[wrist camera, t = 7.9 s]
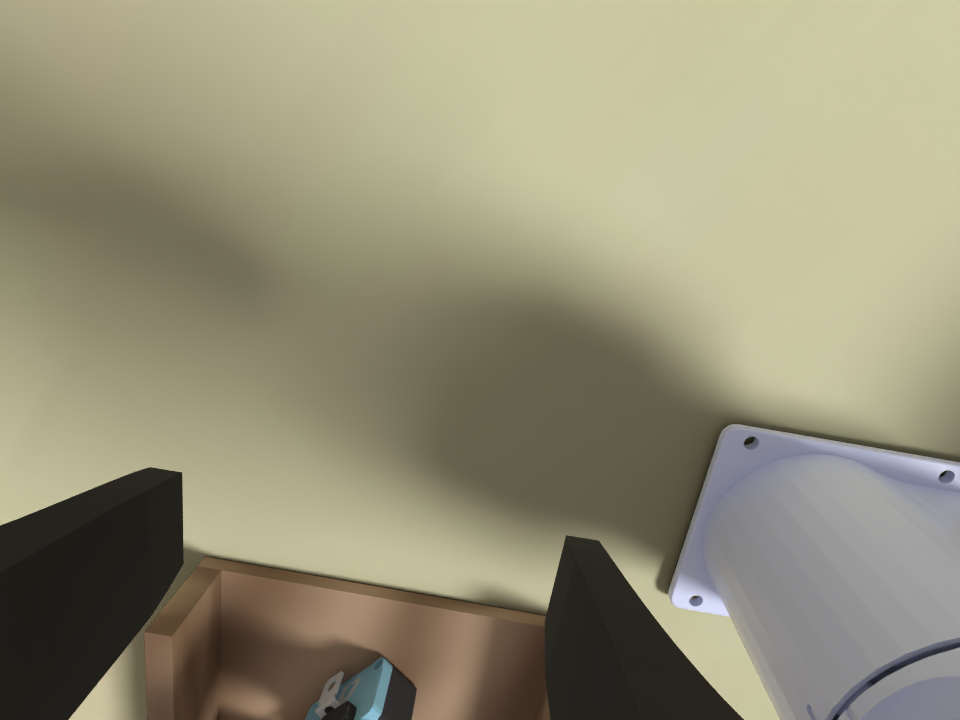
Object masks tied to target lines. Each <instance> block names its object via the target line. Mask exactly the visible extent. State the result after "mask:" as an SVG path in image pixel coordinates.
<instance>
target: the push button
mask: <svg viewBox="0 0 960 720" xmlns="http://www.w3.org/2000/svg"><path fill="white" fill-rule="evenodd" d="M343 675H344V673H343V672H342V671H340V672H339V673H337V674H336V675H334V676H333V677H331V678H330V679H329V680H328V681H327V682H326V684H325V686H324V688H323V691H322V694H321V697H320V699H319V700H318V701H317V702H315V703H314V704H313V705H312V706H311V708H310V709H309V711H308V713H307V716H306V718H305V720H412V715H413V709H414V704H415V698H416V692H417V688H416V687H415V686H414V685H413V684H412V683H411V682H410V681H408V680H407V679H406V678H405V677H404V676H403V675H402V674H401V673H400V672H399V671H398V670H397V669H396V668H394V667H393V666H392V665H391V664H390V663H389V662H388V661H387V660H386V659H385V658H383V657H382V658H379V659H378V660H376V661H375V662H374V663H373V664H372V665H370V666H369V667H367V668H366V669H364V670H363V671H361V672H360V673H358V674H357V675H355V676H354V677H352V678H351V679H349V680H348V681H346V682H345V683H343V684H342V685H340V684H341V681H342V678H343ZM335 681H336V683H335V685H334V687H333V688H332V689H331V690H330V691H328V689H329V687H330V686H331V684H332V683H333V682H335Z"/></svg>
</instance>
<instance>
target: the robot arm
mask: <svg viewBox="0 0 960 720" xmlns="http://www.w3.org/2000/svg"><path fill="white" fill-rule="evenodd" d="M749 437H755V438H754V441H753V442H752V443H751V444H749V445H744V441H745V440H746V439H747V438H749ZM944 471H946V473H945V475H944V476H942V477H940V478H939V476H940V474H941V473H942V472H944ZM182 565H183V496H182V473H181V472H175V471H169V470H163V469H157V468H151V467H149V468H146V469H143V470H140V471H137V472H134V473H131V474H128V475H126V476H123V477H121V478H118V479H116V480H113V481H110V482H108V483H105V484H103V485H101V486H98V487H96V488H93V489H91V490H88V491H86V492H83V493H81V494H79V495H76V496H74V497H71V498H69V499H66V500H64V501H61V502H59V503H56V504H54V505H51V506H49V507H47V508H44V509H42V510H39V511H37V512H34V513H32V514H29V515H27V516H24V517H22V518H19V519H17V520H14V521H11V522H9V523H6V524H3V525H1V526H0V720H68V719H69V718H70V717H71V716H72V714H73V713H74V712H75V711H76V709H77V708H78V707H79V706H80V704H81V703H82V702H83V701H84V700H85V698H86V697H87V696H88V695H89V693H90V692H91V691H92V690H93V688H94V687H95V686H96V685H97V683H98V682H99V681H100V680H101V678H102V677H103V676H104V675H105V673H106V672H107V671H108V670H109V668H110V667H111V666H112V665H113V664H114V662H115V661H116V660H117V659H118V657H119V656H120V655H121V654H122V652H123V651H124V650H125V649H126V647H127V646H128V645H129V643H130V642H131V641H132V640H133V638H134V637H135V636H136V635H137V633H138V632H139V631H140V630H141V628H142V627H143V626H144V624H145V623H146V622H147V621H148V619H149V618H150V617H151V615H152V614H153V612H154V611H155V609H156V608H157V606H158V605H159V603H160V602H161V600H162V598H163V597H164V595H165V594H166V592H167V591H168V589H169V587H170V585H171V584H172V582H173V580H174V579H175V577H176V575H177V574H178V572H179V570H180V569H181V567H182ZM668 595H669V598H670V600H671V603H672V604H673V605H674V606H675V607H678V608H682V609H688V610H694V611H700V612H705V613H711V614H717V615H723V616H728V617H730V618H731V620H732V622H733V624H734V626H735V628H736V630H737V632H738V634H739V636H740V638H741V640H742V642H743V644H744V646H745V648H746V650H747V652H748V654H749V656H750V658H751V661H752V663H753V665H754V667H755V669H756V671H757V673H758V675H759V677H760V679H761V681H762V683H763V685H764V687H765V689H766V691H767V693H768V695H769V697H770V699H771V701H772V703H773V705H774V707H775V710H776V712H777V714H778V716H779V718H780V720H960V462H955V461H949V460H944V459H938V458H932V457H926V456H920V455H914V454H909V453H903V452H897V451H891V450H885V449H880V448H874V447H868V446H862V445H856V444H851V443H845V442H839V441H833V440H827V439H821V438H816V437H810V436H804V435H798V434H792V433H787V432H781V431H775V430H769V429H763V428H757V427H752V426H746V425H740V424H732V425H729V426H727V427H725V428H724V429H723V430H722V432H721V434H720V436H719V439H718V442H717V445H716V448H715V451H714V454H713V458H712V461H711V464H710V467H709V470H708V473H707V476H706V479H705V482H704V485H703V488H702V491H701V494H700V497H699V500H698V503H697V506H696V509H695V512H694V515H693V518H692V521H691V524H690V527H689V530H688V533H687V536H686V539H685V542H684V545H683V548H682V552H681V555H680V558H679V561H678V564H677V567H676V570H675V573H674V576H673V579H672V582H671V585H670V588H669V592H668ZM693 596H699V597H698V598H696V599H690V598H691V597H693ZM545 679H546V688H547V696H548V704H549V712H550V720H744V719H743V718H742V717H741V716H740V715H739V714H738V713H737V712H736V711H735V710H734V709H733V708H732V707H731V706H730V705H729V704H728V703H727V702H726V701H725V700H724V699H723V698H722V697H721V696H720V695H719V694H718V692H717V691H716V690H715V689H714V688H713V687H712V686H711V685H710V684H709V683H708V682H707V680H706V679H705V678H704V677H703V676H702V675H701V674H700V672H699V671H698V670H697V669H696V668H695V667H694V665H693V664H692V663H691V662H690V661H689V660H688V658H687V657H686V656H685V655H684V654H683V653H682V651H681V650H680V649H679V648H678V647H677V645H676V644H675V643H674V642H673V641H672V639H671V638H670V637H669V636H668V634H667V633H666V632H665V631H664V629H663V628H662V627H661V626H660V624H659V623H658V622H657V620H656V619H655V618H654V616H653V615H652V614H651V613H650V611H649V610H648V609H647V607H646V606H645V605H644V603H643V602H642V601H641V599H640V598H639V597H638V595H637V594H636V592H635V591H634V590H633V588H632V587H631V586H630V584H629V583H628V581H627V580H626V579H625V577H624V576H623V574H622V573H621V571H620V570H619V569H618V567H617V566H616V564H615V563H614V562H613V560H612V559H611V557H610V556H609V554H608V553H607V552H606V550H605V549H604V547H603V546H602V545H601V543H600V542H599V541H597V540H591V539H585V538H579V537H573V536H567V535H566V538H565V542H564V546H563V550H562V554H561V558H560V562H559V566H558V570H557V575H556V579H555V583H554V587H553V591H552V595H551V599H550V603H549V607H548V611H547V615H546V619H545Z"/></svg>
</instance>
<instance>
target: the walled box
mask: <svg viewBox="0 0 960 720" xmlns="http://www.w3.org/2000/svg"><path fill="white" fill-rule="evenodd" d="M545 619H546V616H543V615H537V614H532V613H526V612H520V611H514V610H509V609H503V608H497V607H491V606H486V605H480V604H474V603H469V602H463V601H457V600H451V599H446V598H440V597H434V596H428V595H423V594H417V593H411V592H405V591H400V590H394V589H388V588H382V587H377V586H371V585H365V584H360V583H354V582H348V581H342V580H337V579H331V578H325V577H319V576H314V575H308V574H302V573H296V572H291V571H285V570H279V569H273V568H268V567H262V566H256V565H251V564H245V563H239V562H233V561H228V560H222V559H216V558H210V557H205V558H204V559H203V560H202V561H201V563H200V564H199V565H198V566H197V567H196V569H195V570H194V571H193V572H192V574H191V575H190V576H189V577H188V578H187V580H186V581H185V582H184V583H183V585H182V586H181V587H180V588H179V590H178V591H177V592H176V593H175V594H174V596H173V597H172V598H171V599H170V601H169V602H168V603H167V604H166V605H165V607H164V608H163V609H162V610H161V612H160V613H159V614H158V615H157V617H156V618H155V619H154V620H153V621H152V623H151V624H150V625H149V626H148V628H147V629H146V630H145V631H144V644H145V669H146V694H147V720H305V718H306V716H307V713H308V711H309V709H310V708H311V706H312V705H313V704H314V703H315V702H317V701H318V700H319V699H320V697H321V694H322V691H323V688H324V686H325V684H326V682H327V681H328V680H329V679H330V678H331V677H333V676H334V675H336V674H337V673H339V672H340V671H342V672H343V673H344V675H343V678H342V681H341V684H340V685H342V684H343V683H345V682H346V681H348V680H349V679H351V678H352V677H354V676H355V675H357V674H358V673H360V672H361V671H363V670H364V669H366V668H367V667H369V666H370V665H372V664H373V663H374V662H375V661H376V660H378V659H379V658H382V657H383V658H385V659H386V660H387V661H388V662H389V663H390V664H391V665H392V666H393V667H394V668H396V669H397V670H398V671H399V672H400V673H401V674H402V675H403V676H404V677H405V678H406V679H407V680H408V681H410V682H411V683H412V684H413V685H414V686H415V687H416V688H417V692H416V698H415V704H414V709H413V715H412V720H550V712H549V704H548V696H547V688H546V679H545ZM335 683H336V681H335V682H333V683H332V684H331V686H330V687H329V689H328V691H330V690H331V689H332V688H333V687H334V685H335Z"/></svg>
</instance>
